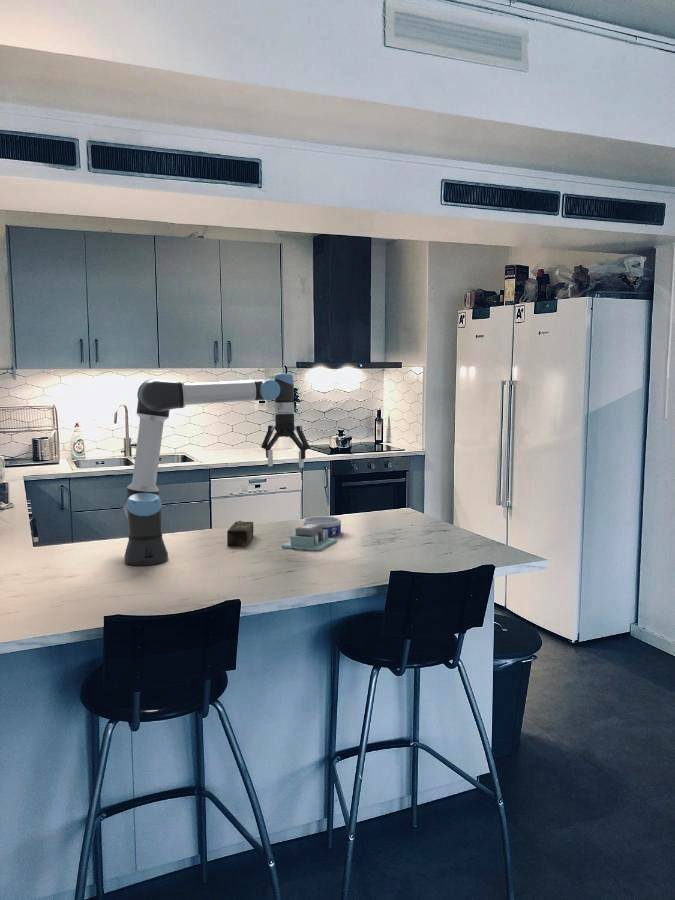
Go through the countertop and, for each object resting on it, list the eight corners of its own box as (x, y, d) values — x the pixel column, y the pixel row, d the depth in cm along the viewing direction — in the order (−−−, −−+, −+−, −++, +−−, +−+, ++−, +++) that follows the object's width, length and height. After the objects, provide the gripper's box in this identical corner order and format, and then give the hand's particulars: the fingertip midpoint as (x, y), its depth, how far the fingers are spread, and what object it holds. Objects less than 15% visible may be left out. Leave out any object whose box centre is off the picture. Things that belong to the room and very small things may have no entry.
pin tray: (281, 547, 274) (281, 536, 274) (299, 538, 289) (299, 527, 288) (320, 551, 268) (320, 539, 268) (336, 541, 283) (336, 530, 282)
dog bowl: (323, 528, 308) (323, 514, 307) (348, 533, 297) (348, 519, 296) (296, 534, 298) (295, 519, 297) (320, 540, 286) (320, 525, 286)
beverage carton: (254, 535, 296) (254, 519, 295) (247, 547, 277) (246, 530, 276) (235, 535, 296) (234, 519, 296) (226, 547, 277) (226, 530, 277)
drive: (308, 538, 284) (308, 522, 284) (323, 539, 281) (322, 524, 281) (295, 544, 275) (295, 528, 275) (310, 545, 272) (310, 529, 272)
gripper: (251, 413, 286) (253, 466, 288) (309, 414, 276) (310, 469, 278) (261, 412, 293) (262, 464, 295) (317, 412, 283) (318, 466, 285)
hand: (285, 466), depth 287 cm, fingers open, 13 cm apart
